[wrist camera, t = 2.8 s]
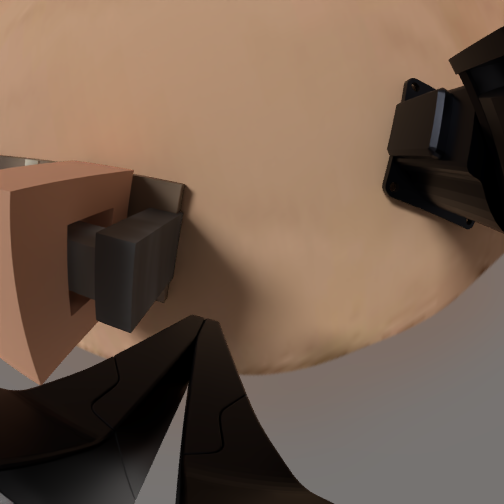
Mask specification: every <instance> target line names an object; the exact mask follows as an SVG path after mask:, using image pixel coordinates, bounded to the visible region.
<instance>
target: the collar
mask: <svg viewBox="0 0 504 504" xmlns="http://www.w3.org/2000/svg"><path fill="white" fill-rule="evenodd" d="M133 172H134V170H130V169H124V168H118V167H112V166H106V165H100V164H93V163H87V162H80V161H63V162H53V163H43V164H35V165H27V166H20V167H13V168H6V169H0V358H1V359H2V360H4V361H5V362H6V363H8V364H9V365H10V366H12V367H13V368H15V369H16V370H17V371H19V372H20V373H22V374H23V375H25V376H26V377H28V378H29V379H31V380H32V381H34V382H35V383H37V384H39V385H42V384H43V383H44V382H45V380H47V378H48V377H49V376H50V375H51V374H52V372H53V371H54V370H55V369H56V368H57V367H58V365H59V364H60V363H61V362H62V361H63V360H64V358H65V357H66V356H67V355H68V354H69V353H70V352H71V351H72V349H73V348H74V347H75V346H76V345H77V344H78V343H79V342H80V341H81V340H82V338H83V337H84V336H85V335H86V334H87V333H88V332H89V331H90V330H91V329H92V328H93V327H94V325H95V324H96V323H97V322H98V321H97V320H96V312H95V300H93V299H90V298H88V297H85V296H83V295H80V294H78V293H75V292H73V291H70V290H69V288H68V268H67V225H69V224H72V223H74V222H77V221H82V222H86V223H90V224H93V225H97V226H101V227H105V228H106V227H108V226H111V225H113V224H115V223H117V222H119V221H121V220H123V219H126V218H127V213H128V205H129V197H130V190H131V184H132V178H133Z"/></svg>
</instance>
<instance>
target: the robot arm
mask: <svg viewBox="0 0 504 504" xmlns="http://www.w3.org/2000/svg"><path fill="white" fill-rule="evenodd" d="M449 62H450V64H451V66H452V68H453V70H454V72H455V74H459V76H460V78H461V80H462V82H463V84H464V86H461V87H458V88H455V89H451V90H446V89H445V88H440V89H437V90H436V89H434V88H432V87H430V86H429V85H427V84H425V83H423V82H421V81H420V80H418V79H415V78H411V79H409V80H407V81H406V82H405V83H404V88H403V94H402V100H401V103H399V104H397V106H396V110H395V115H394V120H393V125H392V130H391V134H390V139H389V143H388V147H387V150H388V153H389V155H390V157H389V161H388V165H387V169H386V173H385V176H384V180H383V185H382V188H383V191H384V193H385V194H386V195H388V196H390V197H392V198H395V199H398V200H400V201H403V202H405V203H408V204H410V205H413V206H415V207H418V208H420V209H423V210H425V211H427V212H430V213H432V214H435V215H437V216H439V217H441V218H444V219H446V220H448V221H450V222H453V223H455V224H457V225H459V226H461V227H463V228H466V229H470V228H472V227H473V225H474V222H478V223H480V224H483V225H485V226H487V227H490V228H492V229H494V230H497V231H499V232H501V233H504V26H503V27H501V28H499V29H498V30H496V31H494V32H493V33H491V34H489V35H487V36H486V37H484V38H482V39H481V40H479V41H477V42H476V43H474V44H473V45H471V46H469V47H468V48H466V49H464V50H463V51H461V52H460V53H458V54H457V55H455V56H453V57H452V58H450V59H449ZM412 84H413V85H414V86H415V87H416V91H414V90H413V89H412V86H411V85H412ZM393 182H394V183H395V190H394V191H391V190H390V185H391V183H393ZM467 218H468V221H467V223H466V219H467ZM187 386H188V391H187V399H186V406H185V414H184V422H183V430H182V440H181V448H180V459H179V468H178V479H177V491H176V503H175V504H334V503H332V502H330V501H327V500H326V499H323V498H321V497H319V496H317V495H315V494H314V493H312V492H310V491H309V490H308V489H306V488H305V487H304V486H303V485H302V484H301V483H299V481H298V480H297V479H296V478H295V477H294V475H293V474H292V472H291V471H290V470H289V468H288V467H287V465H286V464H285V462H284V461H283V459H282V458H281V456H280V455H279V453H278V452H277V450H276V449H275V447H274V446H273V444H272V443H271V441H270V440H269V438H268V437H267V435H266V433H265V432H264V430H263V428H262V426H261V425H260V423H259V421H258V419H257V417H256V415H255V413H254V410H253V408H252V406H251V404H250V401H249V399H248V397H247V394H246V392H245V389H244V387H243V384H242V382H241V379H240V377H239V374H238V371H237V369H236V366H235V364H234V361H233V359H232V356H231V353H230V351H229V348H228V345H227V343H226V340H225V337H224V334H223V332H222V329H221V326H220V323H219V322H218V321H214V320H211V319H204V318H203V317H199V316H196V315H190V316H188V317H186V318H185V319H183V320H181V321H179V322H177V323H175V324H173V325H172V326H170V327H168V328H166V329H164V330H162V331H160V332H159V333H157V334H155V335H153V336H151V337H149V338H147V339H145V340H143V341H142V342H140V343H138V344H136V345H134V346H132V347H130V348H128V349H126V350H124V351H122V352H120V353H119V354H117V355H115V356H114V357H111V358H109V359H107V360H105V361H103V362H101V363H99V364H96V365H94V366H92V367H90V368H88V369H85V370H83V371H80V372H77V373H75V374H72V375H70V376H67V377H64V378H61V379H58V380H55V381H52V382H49V383H46V384H43V385H40V386H37V387H34V388H30V389H27V390H6V389H2V388H0V504H134V503H135V500H136V498H137V496H138V494H139V491H140V489H141V487H142V485H143V483H144V481H145V478H146V476H147V474H148V472H149V469H150V467H151V465H152V463H153V461H154V459H155V456H156V454H157V452H158V450H159V448H160V445H161V443H162V441H163V439H164V437H165V435H166V433H167V430H168V428H169V426H170V424H171V422H172V419H173V417H174V415H175V413H176V411H177V409H178V406H179V404H180V402H181V400H182V398H183V395H184V393H185V391H186V389H187Z"/></svg>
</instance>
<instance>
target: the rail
mask: <svg viewBox="0 0 504 504" xmlns="http://www.w3.org/2000/svg"><path fill="white" fill-rule="evenodd" d="M53 162H55V161H47V160H39V159H31V158H22V157H12V156H2V155H0V169H6V168H13V167H20V166H27V165H35V164H43V163H53ZM184 186H185V184H182V183H177V182H172V181H167V180H162V179H157V178H152V177H147V176H141V175H136V174H133V178H132V184H131V190H130V197H129V205H128V213H127V218H126V219H123V220H121V221H119V222H117V223H115V224H113V225H111V226H108V227H106V228H105V227H101V226H97V225H93V224H90V223H86V222H82V221H77V222H74V223H72V224H69V225H67V268H68V288H69V290H70V291H73V292H75V293H78V294H80V295H83V296H85V297H88V298H90V299H93V300H95V312H96V320H97V321H100V322H102V323H105V324H107V325H110V326H112V327H115V328H118V329H121V330H123V331H126V332H129V333H131V332H132V331H133V330H134V328H135V327H136V326H137V324H138V323H139V322H140V320H141V319H142V318H143V316H144V315H145V314H146V312H147V311H148V310H149V308H150V307H151V306H152V304H153V303H154V302H155V300H156V301H159V302H162V303H164V302H165V301H166V299H167V293H168V285H169V282H170V281H171V280H172V278H173V274H174V267H175V260H176V253H177V247H178V241H179V235H180V229H181V223H182V217H183V212H180V207H181V201H182V196H183V191H184Z"/></svg>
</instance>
